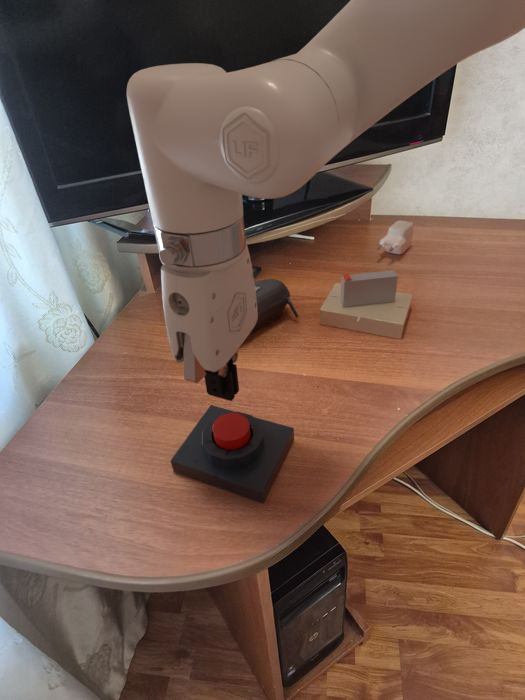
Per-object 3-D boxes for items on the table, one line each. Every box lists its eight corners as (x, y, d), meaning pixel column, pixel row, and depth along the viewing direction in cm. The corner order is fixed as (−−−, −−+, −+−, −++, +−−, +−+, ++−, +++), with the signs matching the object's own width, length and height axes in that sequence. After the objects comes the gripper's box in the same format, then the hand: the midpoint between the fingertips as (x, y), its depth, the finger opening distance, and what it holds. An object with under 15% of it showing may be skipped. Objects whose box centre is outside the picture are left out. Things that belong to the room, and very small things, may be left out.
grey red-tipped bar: (390, 295, 77) (394, 268, 74) (394, 302, 75) (398, 274, 72) (339, 300, 77) (341, 274, 73) (343, 307, 75) (344, 280, 72)
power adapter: (392, 266, 92) (396, 240, 88) (371, 261, 94) (373, 235, 90) (413, 247, 98) (417, 221, 95) (393, 242, 101) (396, 217, 97)
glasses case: (261, 291, 85) (269, 261, 79) (299, 326, 81) (311, 297, 75) (186, 332, 75) (189, 301, 69) (226, 373, 72) (233, 344, 66)
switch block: (294, 439, 56) (293, 418, 54) (263, 503, 49) (261, 482, 47) (212, 415, 61) (208, 394, 58) (173, 472, 54) (167, 450, 51)
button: (256, 428, 54) (255, 418, 52) (240, 455, 50) (239, 445, 49) (224, 418, 55) (223, 409, 54) (207, 444, 52) (205, 434, 51)
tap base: (412, 303, 80) (414, 288, 78) (399, 345, 71) (401, 329, 69) (337, 292, 85) (338, 277, 83) (316, 329, 76) (316, 313, 74)
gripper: (194, 286, 31) (221, 453, 42) (275, 210, 41) (279, 360, 53) (109, 270, 33) (156, 431, 45) (206, 203, 44) (224, 347, 55)
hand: (223, 393), depth 49 cm, fingers closed
